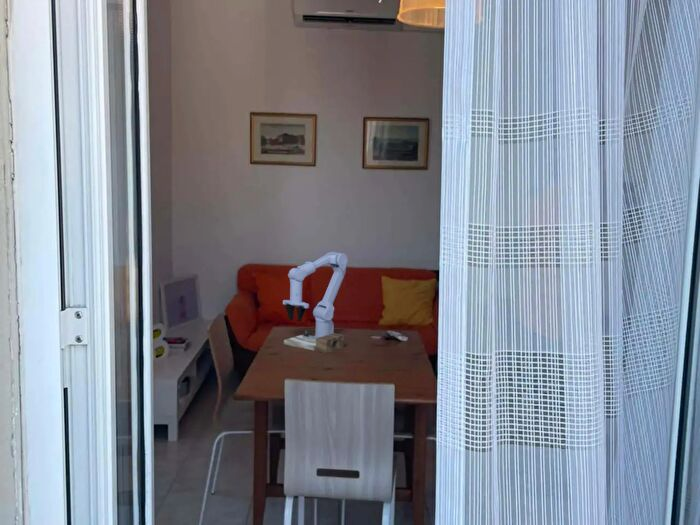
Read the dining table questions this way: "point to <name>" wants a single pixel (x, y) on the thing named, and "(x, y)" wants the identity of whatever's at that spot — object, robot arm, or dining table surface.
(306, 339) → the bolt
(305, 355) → the dining table surface
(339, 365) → the dining table surface
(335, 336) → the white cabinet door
